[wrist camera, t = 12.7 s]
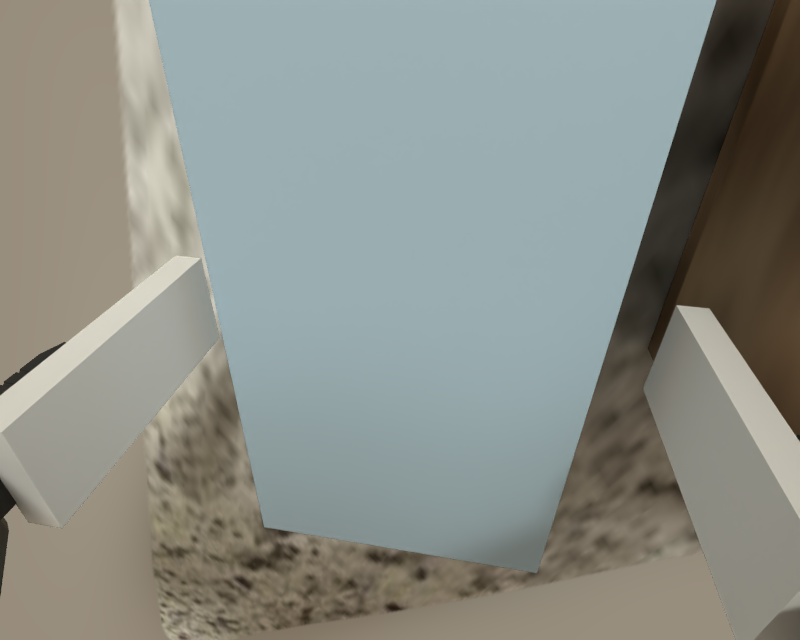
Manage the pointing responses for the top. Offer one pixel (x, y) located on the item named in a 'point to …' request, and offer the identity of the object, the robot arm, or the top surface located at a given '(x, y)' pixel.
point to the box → (754, 223)
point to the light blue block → (422, 243)
